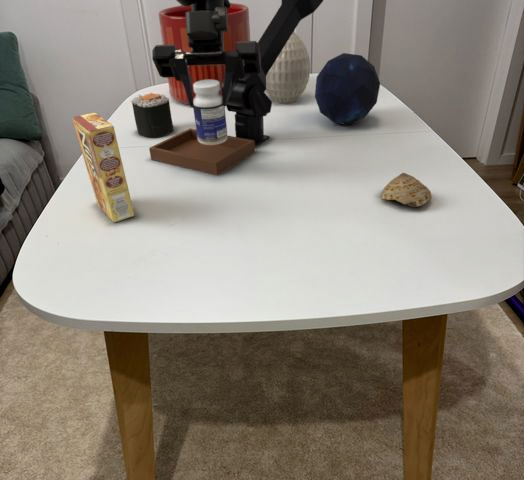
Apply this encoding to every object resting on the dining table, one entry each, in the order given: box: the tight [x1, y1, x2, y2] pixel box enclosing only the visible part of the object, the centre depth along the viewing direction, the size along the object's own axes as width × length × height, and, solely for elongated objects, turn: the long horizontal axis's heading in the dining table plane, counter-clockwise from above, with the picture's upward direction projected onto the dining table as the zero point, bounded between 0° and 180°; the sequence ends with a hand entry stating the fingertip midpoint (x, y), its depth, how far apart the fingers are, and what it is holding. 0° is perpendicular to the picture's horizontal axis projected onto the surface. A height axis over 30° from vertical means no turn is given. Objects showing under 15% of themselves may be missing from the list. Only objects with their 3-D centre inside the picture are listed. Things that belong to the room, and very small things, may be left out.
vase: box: [265, 31, 311, 104], centre depth 130 cm, size 13×13×17 cm
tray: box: [148, 127, 256, 176], centre depth 107 cm, size 14×18×2 cm
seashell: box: [380, 172, 433, 208], centre depth 88 cm, size 8×6×8 cm
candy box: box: [72, 112, 135, 223], centre depth 85 cm, size 9×4×15 cm, turn 33°
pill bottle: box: [192, 79, 229, 145], centre depth 92 cm, size 6×6×10 cm
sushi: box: [130, 92, 174, 139], centre depth 118 cm, size 8×8×8 cm
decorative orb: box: [314, 52, 381, 126], centre depth 116 cm, size 14×15×15 cm
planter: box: [158, 2, 251, 106], centre depth 135 cm, size 23×23×20 cm
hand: (207, 105), depth 90 cm, fingers closed on pill bottle, 6 cm apart
